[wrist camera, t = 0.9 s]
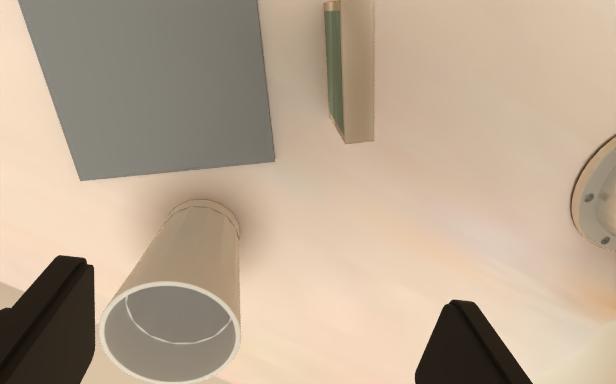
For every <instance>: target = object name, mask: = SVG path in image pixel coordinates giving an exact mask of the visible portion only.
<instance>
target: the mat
mask: <svg viewBox="0 0 616 384" xmlns="http://www.w3.org/2000/svg"><path fill="white" fill-rule="evenodd" d="M18 2H19V5H20V8H21V11H22V14H23V16H24V19H25V22H26V25H27V28H28V31H29V34H30V37H31V40H32V43H33V45H34V48H35V51H36V54H37V57H38V60H39V63H40V66H41V69H42V71H43V74H44V77H45V80H46V83H47V86H48V89H49V92H50V95H51V98H52V100H53V103H54V106H55V109H56V112H57V115H58V118H59V121H60V124H61V126H62V129H63V132H64V135H65V138H66V141H67V144H68V147H69V150H70V153H71V155H72V158H73V161H74V164H75V167H76V170H77V173H78V176H79V179H80V181H86V180H96V179H106V178H116V177H126V176H137V175H147V174H157V173H167V172H177V171H187V170H197V169H207V168H217V167H227V166H237V165H247V164H257V163H268V162H275V157H274V148H273V140H272V131H271V122H270V113H269V105H268V96H267V87H266V78H265V69H264V61H263V52H262V43H261V34H260V26H259V17H258V8H257V0H18Z"/></svg>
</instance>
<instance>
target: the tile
mask: <svg viewBox="0 0 616 384" xmlns="http://www.w3.org/2000/svg"><path fill="white" fill-rule="evenodd" d="M324 15H325V35H326V56H327V76H328V97H329V117H330V119H331V120H332V122H333V124H334V125H335V127H336V129H337V131H338V132H339V134H340V136H341V137H342V139H343V141H344V142H345V144H351V143H361V142H371V141H374V0H339V1H333V2H328V3H324Z"/></svg>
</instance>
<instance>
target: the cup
mask: <svg viewBox="0 0 616 384" xmlns="http://www.w3.org/2000/svg"><path fill="white" fill-rule="evenodd" d="M239 238H240V228H239V224H238V222H237V220H236V218H235V216H234V215H233V214H232V213H231V212H230V211H229V210H228V209H227V208H226V207H224V206H223V205H221V204H219V203H217V202H214V201H210V200H203V199H197V200H191V201H187V202H184V203H182V204H180V205H179V206H177V207H176V208H175V209H173V210H172V212H171V213H170V214H169V216H168V218H167V220H166V222H165V224H164V225H163V227H162V228H161V230H160V231H159V233H158V234H157V236H156V237H155V238H154V240H153V241H152V243H151V244H150V246H149V247H148V249H147V250H146V252H145V253H144V255H143V256H142V258H141V259H140V261H139V262H138V263H137V265H136V266H135V268H134V269H133V271H132V272H131V274H130V275H129V276H128V278H127V279H126V280H125V282H124V283H123V285H122V286H121V287H120V289H119V290H118V292H117V293H116V294H115V296H114V297H113V299H112V300H111V301H110V303H109V304H108V306H107V307H106V309H105V310H104V312H103V314H102V316H101V319H100V323H99V337H100V342H101V345H102V347H103V349H104V351H105V353H106V354H107V356H108V357H109V358H110V359H111V361H112V362H113V363H114V364H115V365H116V366H118V367H119V368H120V369H121V370H123V371H124V372H126V373H127V374H129V375H131V376H133V377H135V378H137V379H140V380H143V381H146V382H150V383H154V384H192V383H197V382H200V381H203V380H206V379H208V378H210V377H212V376H214V375H216V374H218V373H219V372H221V371H222V370H223V369H224V368H226V367H227V366H228V365H229V364H230V362H231V361H232V360H233V359H234V357H235V355H236V354H237V352H238V349H239V346H240V341H241V322H240V284H239Z"/></svg>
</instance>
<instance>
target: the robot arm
mask: <svg viewBox="0 0 616 384" xmlns="http://www.w3.org/2000/svg"><path fill="white" fill-rule="evenodd" d="M572 216H573V221H574V223H575V225H576V228H577V229H578V230H579V232H580V233H581V234H582V236H584V237H585V238H586V239H588V240H589V241H590V242H592V243H593V244H595V245H597V246H598V247H601V248H604V249H608V250H614V251H616V137H615V138H613V139H612V140H611V141H610V142H608V143H607V144H606V145H605V146H604V147H602V148H601V149H600V150H599V151H598V152H597V154H596V155H595V156H594V157H593V158H592V159H591V160H590V162H589V163H588V165H587V166H586V167H585V169H584V170H583V172H582V174H581V176H580V178H579V180H578V182H577V184H576V187H575V190H574V194H573V197H572ZM94 351H95V302H94V267H93V265H88V264H87V261H86V259H85V258H80V257H71V256H62V255H59V256H57V257H56V258H55V259H54V260H53V261H52V262H51V263H50V265H49V266H48V267H47V268H46V269H45V270H44V271H43V273H42V274H41V275H40V276H39V277H38V278H37V279H36V281H35V282H34V283H33V284H32V285H31V286H30V287H29V288H28V290H27V291H26V292H25V293H24V294H23V295H22V296H21V298H20V299H19V300H18V301H17V302H16V303H15V305H14V306H13V307H12V308H4V309H2V310H0V384H80V382H81V380H82V378H83V377H84V375H85V373H86V371H87V369H88V367H89V365H90V363H91V361H92V358H93V355H94ZM415 383H416V384H533V383H532V382H531V381H530V379H529V378H528V376H527V375H526V373H525V372H524V371H523V369H522V368H521V366H520V365H519V364H518V362H517V361H516V359H515V358H514V357H513V355H512V354H511V352H510V351H509V350H508V348H507V347H506V345H505V344H504V343H503V341H502V340H501V338H500V337H499V336H498V334H497V333H496V331H495V330H494V329H493V327H492V326H491V324H490V323H489V322H488V320H487V319H486V317H485V316H484V315H483V313H482V312H481V310H480V309H479V307H478V306H477V305H476V304H475V303H474V302H471V301H462V300H452V301H450V303H449V304H446V305H445V306H444V307H443V309H442V311H441V314H440V316H439V318H438V321H437V323H436V325H435V328H434V330H433V332H432V335H431V337H430V339H429V342H428V344H427V346H426V349H425V351H424V353H423V356H422V358H421V360H420V363H419V365H418V367H417V369H416V372H415Z"/></svg>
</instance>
